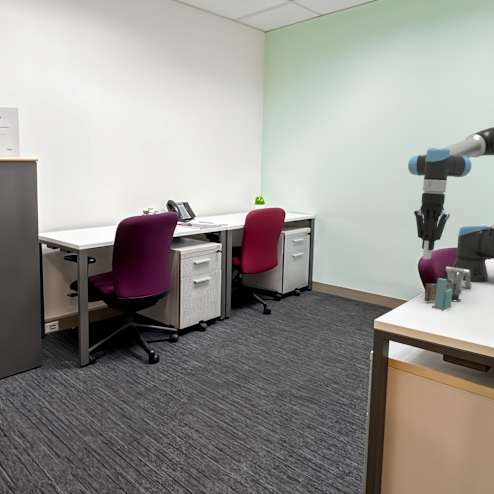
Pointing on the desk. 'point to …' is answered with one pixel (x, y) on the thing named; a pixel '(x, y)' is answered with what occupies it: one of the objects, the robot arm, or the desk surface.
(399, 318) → the desk surface
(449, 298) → the stile
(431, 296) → the gate
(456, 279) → the hinge post
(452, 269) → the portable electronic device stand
